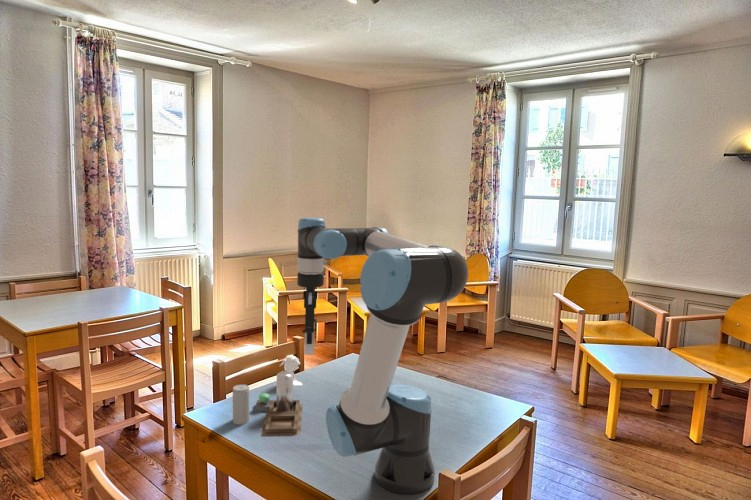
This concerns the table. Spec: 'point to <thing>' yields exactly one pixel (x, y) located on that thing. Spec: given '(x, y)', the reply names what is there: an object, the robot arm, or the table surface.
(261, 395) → the button
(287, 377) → the billet
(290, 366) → the figurine
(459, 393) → the table surface
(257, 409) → the pallet
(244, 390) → the beverage can
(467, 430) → the table surface
